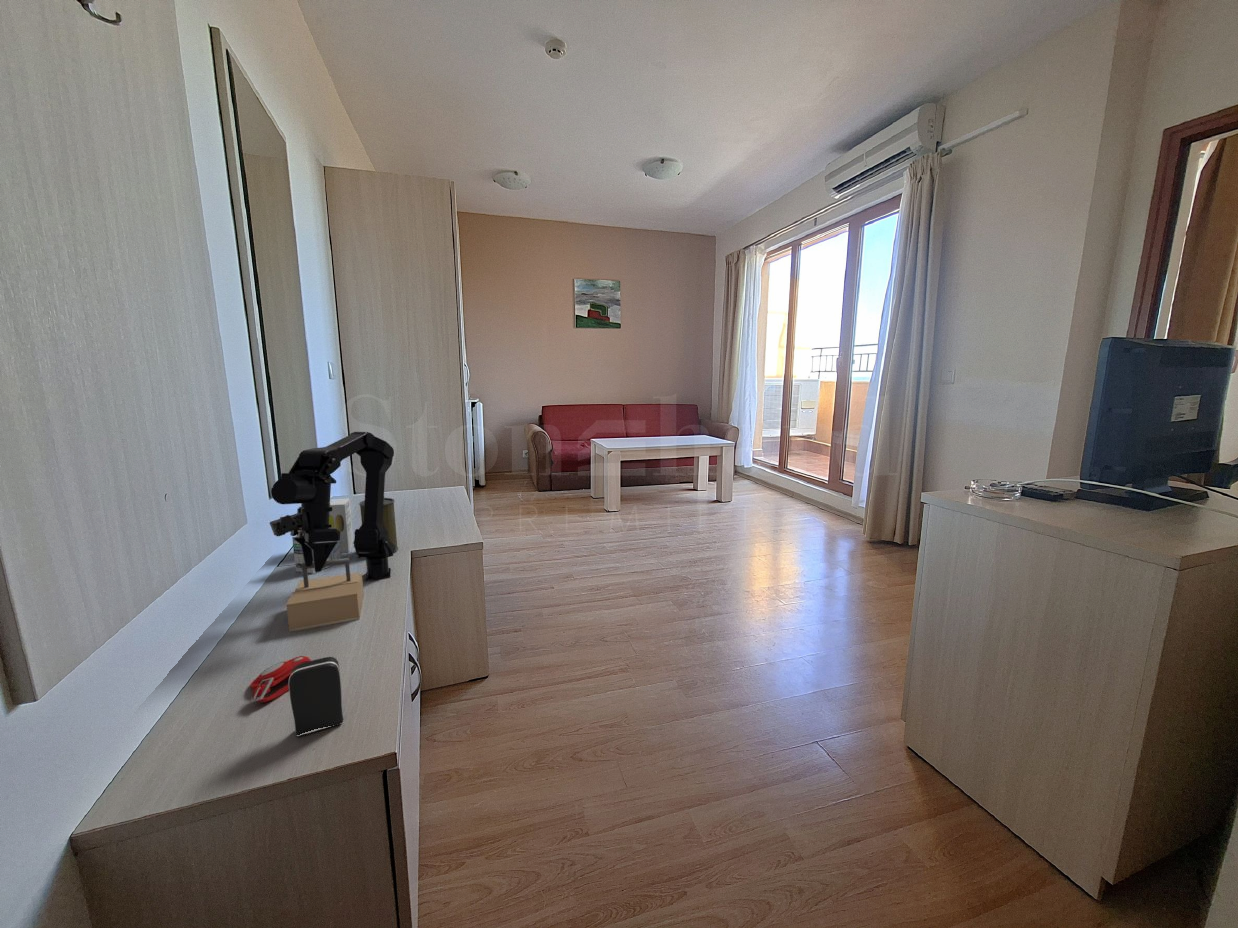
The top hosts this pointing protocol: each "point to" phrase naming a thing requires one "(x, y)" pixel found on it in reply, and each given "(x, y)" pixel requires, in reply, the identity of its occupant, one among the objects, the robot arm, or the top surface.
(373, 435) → the robot arm
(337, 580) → the carton flap
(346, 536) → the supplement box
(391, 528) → the canister
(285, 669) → the tracker holder
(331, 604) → the kraft carton
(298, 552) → the light bulb box
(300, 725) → the battery charger
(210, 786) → the top surface
